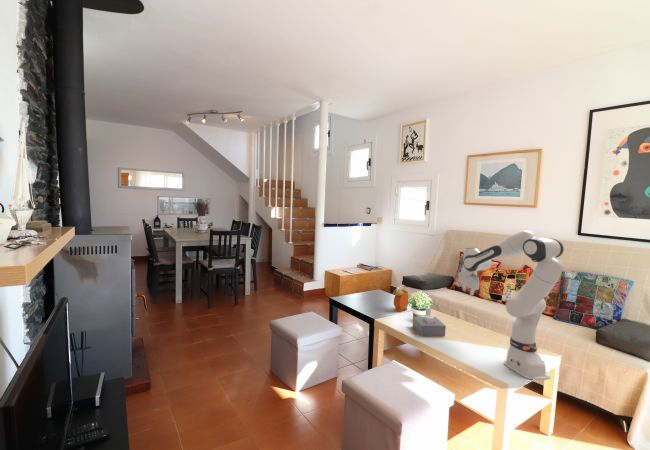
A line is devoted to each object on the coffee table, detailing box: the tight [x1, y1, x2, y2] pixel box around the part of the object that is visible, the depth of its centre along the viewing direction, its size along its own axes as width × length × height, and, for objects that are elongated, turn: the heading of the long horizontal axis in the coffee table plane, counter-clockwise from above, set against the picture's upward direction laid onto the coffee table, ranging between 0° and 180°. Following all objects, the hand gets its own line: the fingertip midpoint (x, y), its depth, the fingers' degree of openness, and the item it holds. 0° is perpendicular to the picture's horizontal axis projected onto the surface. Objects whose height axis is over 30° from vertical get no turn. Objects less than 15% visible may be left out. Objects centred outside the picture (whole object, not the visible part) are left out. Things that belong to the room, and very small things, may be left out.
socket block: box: [412, 316, 447, 337], centre depth 221 cm, size 16×16×7 cm
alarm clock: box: [393, 285, 410, 313], centre depth 261 cm, size 13×6×20 cm, turn 133°
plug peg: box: [425, 315, 434, 323], centre depth 221 cm, size 4×4×11 cm
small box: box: [425, 306, 432, 316], centre depth 240 cm, size 8×6×10 cm
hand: (467, 292), depth 214 cm, fingers open, 8 cm apart
